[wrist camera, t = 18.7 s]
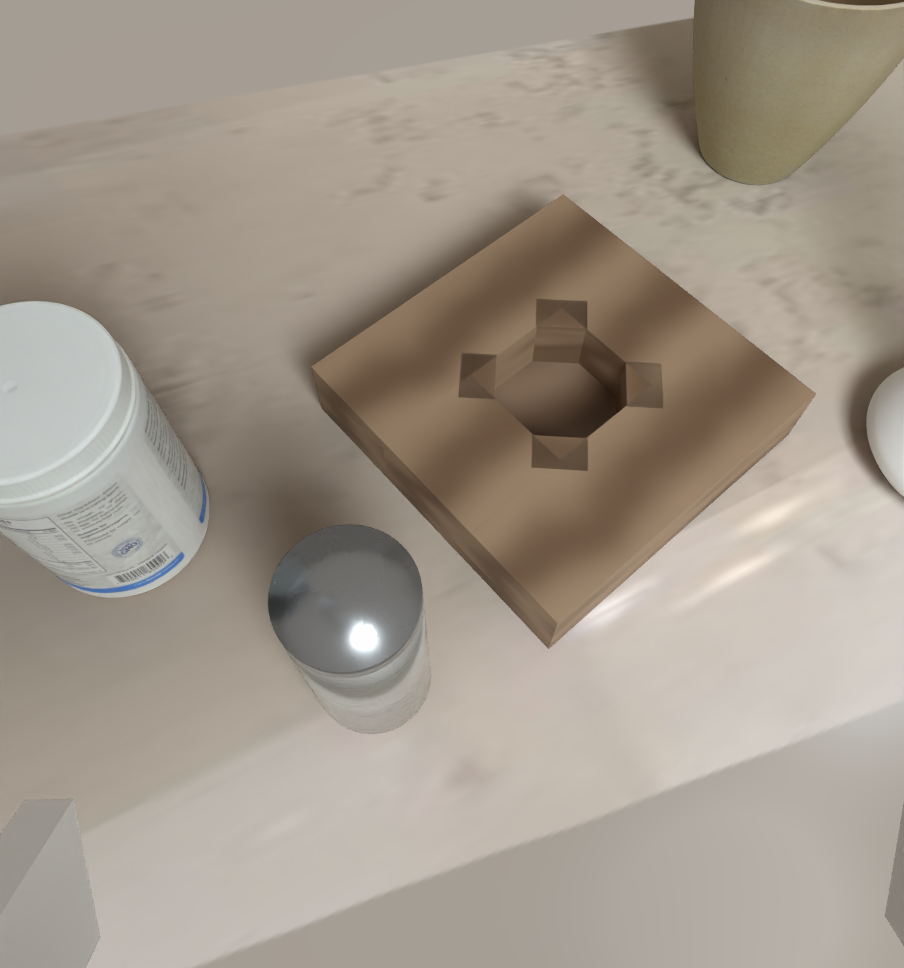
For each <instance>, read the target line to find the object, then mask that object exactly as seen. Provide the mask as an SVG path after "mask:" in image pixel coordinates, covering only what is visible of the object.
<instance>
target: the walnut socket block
mask: <svg viewBox="0 0 904 968" xmlns="http://www.w3.org/2000/svg"><path fill="white" fill-rule="evenodd" d="M311 369H312V372H313V376H314V380H315V383H316V387H317V391H318V395H319V398H320V402H321V406H322V409H323V410H324V411H325V412H326V413H327V414H328V415H329V416H330V417H331V418H332V420H333V421H334V422H335V423H336V424H337V425H338V426H339V427H340V428H341V429H342V430H343V431H344V432H345V433H346V434H347V435H348V436H349V438H350V439H351V440H352V441H353V442H354V443H355V444H356V445H357V446H358V447H359V448H360V449H361V450H362V451H363V452H364V453H365V455H366V456H367V457H368V458H369V459H370V460H371V461H372V462H373V463H374V464H375V465H376V466H377V467H378V468H379V469H380V470H381V471H382V473H383V474H384V475H385V476H386V477H387V478H388V479H389V480H390V481H391V482H392V483H393V484H394V485H395V486H396V487H397V488H398V490H399V491H400V492H401V493H402V494H403V495H404V496H405V497H406V498H407V499H408V500H409V501H410V502H411V503H412V504H413V505H414V506H415V508H416V509H417V510H418V511H419V512H420V513H421V514H422V515H423V516H424V517H425V518H426V519H427V520H428V521H429V522H430V523H431V525H432V526H433V527H434V528H435V529H436V530H437V531H438V532H439V533H440V534H441V535H442V536H443V537H444V538H445V539H446V540H447V541H448V543H449V544H450V545H451V546H452V547H453V548H454V549H455V550H456V551H457V552H458V553H459V554H460V555H461V556H462V557H463V558H464V560H465V561H466V562H467V563H468V564H469V565H470V566H471V567H472V568H473V569H474V570H475V571H476V572H477V573H478V574H479V575H480V576H481V578H482V579H483V580H484V581H485V582H486V583H487V584H488V585H489V586H490V587H491V588H492V589H493V590H494V591H495V592H496V593H497V595H498V596H499V597H500V598H501V599H502V600H503V601H504V602H505V603H506V604H507V605H508V606H509V607H510V608H511V609H512V610H513V611H514V613H515V614H516V615H517V616H518V617H519V618H520V619H521V620H522V621H523V622H524V623H525V624H526V625H527V626H528V627H529V628H530V629H531V631H532V632H533V633H534V634H535V635H536V636H537V637H538V638H539V639H540V640H541V641H542V642H543V643H544V644H545V645H546V646H547V648H548V649H549V648H550V647H551V646H552V645H554V644H555V643H556V642H557V641H558V640H559V639H560V638H561V637H563V636H564V635H565V634H566V633H567V632H568V631H569V630H570V629H571V628H573V627H574V626H575V625H576V624H577V623H578V622H579V621H580V620H582V619H583V618H584V617H585V616H586V615H587V614H588V613H589V612H590V611H592V610H593V609H594V608H595V607H596V606H597V605H598V604H599V603H601V602H602V601H603V600H604V599H605V598H606V597H607V596H608V595H609V594H611V593H612V592H613V591H614V590H615V589H616V588H617V587H618V586H619V585H621V584H622V583H623V582H624V581H625V580H626V579H627V578H628V577H630V576H631V575H632V574H633V573H634V572H635V571H636V570H637V569H638V568H640V567H641V566H642V565H643V564H644V563H645V562H646V561H647V560H649V559H650V558H651V557H652V556H653V555H654V554H655V553H656V552H657V551H659V550H660V549H661V548H662V547H663V546H664V545H665V544H666V543H668V542H669V541H670V540H671V539H672V538H673V537H674V536H675V535H676V534H678V533H679V532H680V531H681V530H682V529H683V528H684V527H685V526H687V525H688V524H689V523H690V522H691V521H692V520H693V519H694V518H695V517H697V516H698V515H699V514H700V513H701V512H702V511H703V510H704V509H706V508H707V507H708V506H709V505H710V504H711V503H712V502H713V501H714V500H716V499H717V498H718V497H719V496H720V495H721V494H722V493H723V492H725V491H726V490H727V489H728V488H729V487H730V486H731V485H732V484H733V483H735V482H736V481H737V480H738V479H739V478H740V477H741V476H742V475H744V474H745V473H746V472H747V471H748V470H749V469H750V468H751V467H752V466H754V465H755V464H756V463H757V462H758V461H759V460H760V459H761V458H763V457H764V456H765V455H766V454H767V453H768V452H769V451H770V450H771V449H773V448H774V447H775V446H776V445H777V444H778V443H779V442H780V441H782V440H783V439H784V438H785V437H786V436H787V435H788V434H789V433H790V431H791V430H792V428H793V427H794V425H795V424H796V422H797V421H798V420H799V418H800V417H801V415H802V414H803V412H804V411H805V409H806V408H807V406H808V405H809V404H810V402H811V401H812V399H813V398H814V396H815V395H816V393H815V392H813V391H812V390H811V389H809V388H808V387H807V386H806V385H804V384H803V383H802V382H801V381H799V380H798V379H797V378H796V377H794V376H793V375H792V374H790V373H789V372H788V371H787V370H785V369H784V368H783V367H782V366H780V365H779V364H778V363H777V362H775V361H774V360H773V359H771V358H770V357H769V356H768V355H766V354H765V353H764V352H763V351H761V350H760V349H759V348H757V347H756V346H755V345H754V344H752V343H751V342H750V341H749V340H747V339H746V338H745V337H744V336H742V335H741V334H740V333H738V332H737V331H736V330H735V329H733V328H732V327H731V326H730V325H728V324H727V323H726V322H725V321H723V320H722V319H721V318H719V317H718V316H717V315H716V314H714V313H713V312H712V311H711V310H709V309H708V308H707V307H706V306H704V305H703V304H702V303H700V302H699V301H698V300H697V299H695V298H694V297H693V296H692V295H690V294H689V293H688V292H687V291H685V290H684V289H683V288H681V287H680V286H679V285H678V284H676V283H675V282H674V281H673V280H671V279H670V278H669V277H668V276H666V275H665V274H664V273H662V272H661V271H660V270H659V269H657V268H656V267H655V266H654V265H652V264H651V263H650V262H648V261H647V260H646V259H645V258H643V257H642V256H641V255H640V254H638V253H637V252H636V251H635V250H633V249H632V248H631V247H629V246H628V245H627V244H626V243H624V242H623V241H622V240H621V239H619V238H618V237H617V236H616V235H614V234H613V233H612V232H610V231H609V230H608V229H607V228H605V227H604V226H603V225H602V224H600V223H599V222H598V221H597V220H595V219H594V218H593V217H591V216H590V215H589V214H588V213H586V212H585V211H584V210H583V209H581V208H580V207H579V206H578V205H576V204H575V203H574V202H572V201H571V200H570V199H569V198H567V197H566V196H565V195H564V194H563V195H562V196H560V197H559V198H557V199H556V200H554V201H553V202H551V203H550V204H548V205H547V206H545V207H544V208H543V209H541V210H540V211H538V212H537V213H535V214H534V215H532V216H531V217H529V218H528V219H526V220H525V221H524V222H522V223H521V224H519V225H518V226H516V227H515V228H513V229H512V230H510V231H509V232H507V233H506V234H505V235H503V236H502V237H500V238H499V239H497V240H496V241H494V242H493V243H491V244H490V245H488V246H487V247H485V248H484V249H483V250H481V251H480V252H478V253H477V254H475V255H474V256H472V257H471V258H469V259H468V260H466V261H465V262H464V263H462V264H461V265H459V266H458V267H456V268H455V269H453V270H452V271H450V272H449V273H447V274H446V275H445V276H443V277H442V278H440V279H439V280H437V281H436V282H434V283H433V284H431V285H430V286H428V287H427V288H426V289H424V290H423V291H421V292H420V293H418V294H417V295H415V296H414V297H412V298H411V299H409V300H408V301H406V302H405V303H404V304H402V305H401V306H399V307H398V308H396V309H395V310H393V311H392V312H390V313H389V314H387V315H386V316H385V317H383V318H382V319H380V320H379V321H377V322H376V323H374V324H373V325H371V326H370V327H368V328H367V329H366V330H364V331H363V332H361V333H360V334H358V335H357V336H355V337H354V338H352V339H351V340H349V341H348V342H347V343H345V344H344V345H342V346H341V347H339V348H338V349H336V350H335V351H333V352H332V353H330V354H329V355H327V356H326V357H325V358H323V359H322V360H320V361H319V362H317V363H316V364H314V365H313V366H311Z"/></svg>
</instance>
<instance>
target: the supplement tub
mask: <svg viewBox="0 0 904 968" xmlns="http://www.w3.org/2000/svg"><path fill="white" fill-rule="evenodd" d="M209 513H210V501H209V494H208V490H207V487H206V484H205V482H204V479H203V477H202V475H201V474H200V472H199V470H198V468H197V467H196V465H195V463H194V462H193V460H192V459H191V457H190V455H189V454H188V452H187V451H186V449H185V447H184V446H183V444H182V442H181V441H180V439H179V437H178V436H177V434H176V433H175V431H174V429H173V428H172V426H171V425H170V423H169V421H168V420H167V418H166V417H165V415H164V413H163V412H162V410H161V408H160V407H159V405H158V404H157V402H156V400H155V399H154V397H153V395H152V394H151V392H150V391H149V389H148V387H147V386H146V384H145V382H144V381H143V379H142V378H141V376H140V374H139V373H138V371H137V370H136V368H135V366H134V365H133V363H132V362H131V360H130V359H129V357H128V356H127V354H126V353H125V351H124V350H123V348H122V347H121V346H120V345H119V344H118V342H116V341H115V340H114V339H113V338H112V336H111V335H110V334H109V332H108V331H107V330H106V329H105V328H104V327H103V326H102V325H101V324H100V323H99V322H98V321H97V320H95V319H94V318H93V317H91V316H90V315H88V314H87V313H85V312H83V311H81V310H78V309H76V308H74V307H71V306H68V305H64V304H60V303H55V302H47V301H24V302H16V303H10V304H5V305H1V306H0V532H1V533H2V534H3V535H5V536H6V537H7V538H8V539H10V540H11V541H12V542H13V543H15V544H16V545H17V546H18V547H20V548H21V549H22V550H24V551H25V552H26V553H27V554H29V555H30V556H31V557H33V558H34V559H35V560H37V561H38V562H39V563H40V564H42V565H43V566H44V567H45V568H47V569H48V570H49V571H51V572H52V573H53V574H55V575H56V576H57V577H58V578H60V579H61V580H63V581H64V582H65V583H66V584H68V585H69V586H71V587H72V588H74V589H76V590H78V591H81V592H83V593H86V594H89V595H93V596H98V597H106V598H118V597H128V596H133V595H137V594H141V593H144V592H147V591H150V590H152V589H154V588H156V587H158V586H160V585H162V584H164V583H165V582H167V581H168V580H170V579H171V578H173V577H174V576H175V575H176V574H178V573H179V572H180V571H181V570H182V569H183V568H184V567H185V566H186V565H187V564H188V563H189V562H190V560H191V559H192V558H193V556H194V555H195V554H196V552H197V551H198V549H199V547H200V545H201V543H202V541H203V539H204V537H205V534H206V531H207V527H208V522H209Z"/></svg>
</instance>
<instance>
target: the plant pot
mask: <svg viewBox="0 0 904 968" xmlns="http://www.w3.org/2000/svg"><path fill="white" fill-rule="evenodd" d="M903 58H904V0H695V7H694V28H693V84H694V101H695V115H696V124H697V133H698V141H699V146H700V151H701V154H702V156H703V158H704V159H705V161H706V162H707V163H708V164H709V165H710V167H711V168H713V169H714V170H715V171H716V172H718V173H719V174H721V175H722V176H724V177H726V178H728V179H731V180H733V181H737V182H740V183H744V184H752V185H764V184H771V183H775V182H778V181H781V180H783V179H785V178H787V177H788V176H790V175H791V174H792V173H793V172H794V171H796V170H797V169H798V168H799V167H800V166H802V165H803V164H804V163H805V162H806V161H807V160H808V159H809V158H810V157H812V156H813V155H814V154H815V153H816V152H817V151H818V150H819V149H820V148H821V147H822V146H823V145H825V144H826V143H827V142H828V141H829V140H830V139H831V138H832V137H833V136H834V135H835V134H836V133H837V132H838V131H839V130H840V129H841V128H842V127H843V126H844V125H845V124H846V123H847V122H848V121H849V120H850V119H851V117H852V116H853V115H854V114H855V113H856V112H857V111H858V110H859V109H860V108H861V107H862V106H863V105H864V104H865V102H866V101H867V100H868V99H869V98H870V97H871V96H872V95H873V94H874V92H875V91H876V90H877V89H878V88H879V87H880V86H881V84H882V83H883V82H884V81H885V80H886V79H887V77H888V76H889V75H890V74H891V73H892V71H893V70H894V69H895V68H896V67H897V65H898V64H899V63H900V62H901V61H902V59H903Z"/></svg>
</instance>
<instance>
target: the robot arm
mask: <svg viewBox="0 0 904 968" xmlns="http://www.w3.org/2000/svg"><path fill="white" fill-rule="evenodd" d="M885 916H886V918H887V920H888V922H889V923H890V925H891V926H892V928H893V930H894V931H895V933H896V934H897V936H898V938H899V939H900V941H901V942H902V944H903V945H904V805H903V811H902V817H901V823H900V829H899V835H898V841H897V847H896V853H895V859H894V865H893V871H892V877H891V882H890V888H889V895H888V900H887V907H886V913H885ZM99 939H100V933H99V928H98V923H97V917H96V912H95V907H94V902H93V897H92V892H91V886H90V881H89V876H88V871H87V866H86V861H85V855H84V850H83V845H82V840H81V835H80V830H79V824H78V819H77V814H76V809H75V804H74V799H53V800H25V801H24V802H23V803H22V805H21V806H20V808H19V809H18V811H17V812H16V813H15V815H14V816H13V818H12V819H11V820H10V822H9V823H8V825H7V826H6V827H5V829H4V830H3V832H2V833H1V835H0V968H86V966H87V964H88V962H89V960H90V958H91V956H92V953H93V951H94V949H95V947H96V945H97V943H98V941H99Z"/></svg>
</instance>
